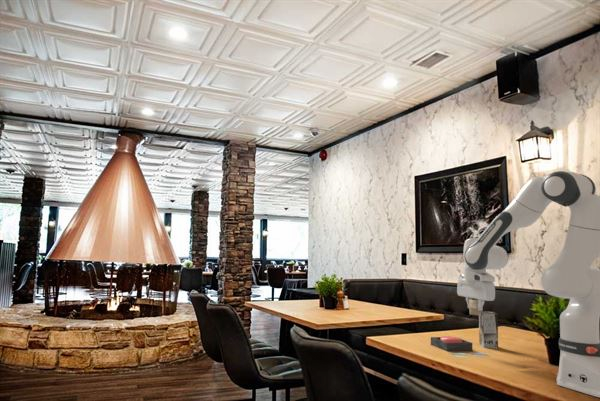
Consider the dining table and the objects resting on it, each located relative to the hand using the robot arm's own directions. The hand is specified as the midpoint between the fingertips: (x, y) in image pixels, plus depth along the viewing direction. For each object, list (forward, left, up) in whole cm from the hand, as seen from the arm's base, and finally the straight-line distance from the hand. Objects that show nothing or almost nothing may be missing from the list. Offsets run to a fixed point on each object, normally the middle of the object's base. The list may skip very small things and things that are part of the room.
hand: (475, 309), depth 174 cm
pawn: (0, 0, -2) cm, 2 cm away
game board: (+6, +3, -19) cm, 20 cm away
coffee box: (+14, -18, -19) cm, 30 cm away
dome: (+12, +3, -18) cm, 22 cm away
